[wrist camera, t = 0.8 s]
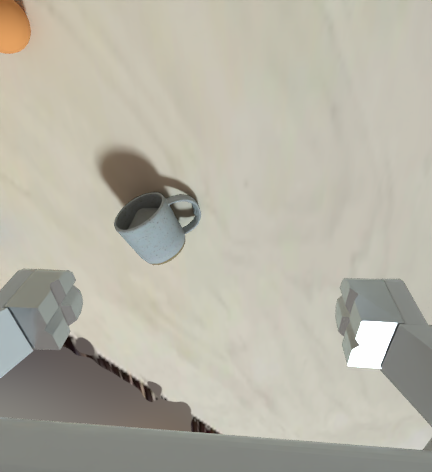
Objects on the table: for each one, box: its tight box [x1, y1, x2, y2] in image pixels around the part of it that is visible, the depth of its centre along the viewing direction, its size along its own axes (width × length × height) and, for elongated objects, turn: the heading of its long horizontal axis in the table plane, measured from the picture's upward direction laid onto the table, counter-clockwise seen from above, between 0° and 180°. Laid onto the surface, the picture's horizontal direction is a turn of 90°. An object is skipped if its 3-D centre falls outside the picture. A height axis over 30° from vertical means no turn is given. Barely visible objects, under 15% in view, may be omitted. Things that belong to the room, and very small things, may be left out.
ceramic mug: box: [114, 192, 201, 265], centre depth 45 cm, size 11×8×8 cm
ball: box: [0, 0, 31, 54], centre depth 31 cm, size 5×5×5 cm
